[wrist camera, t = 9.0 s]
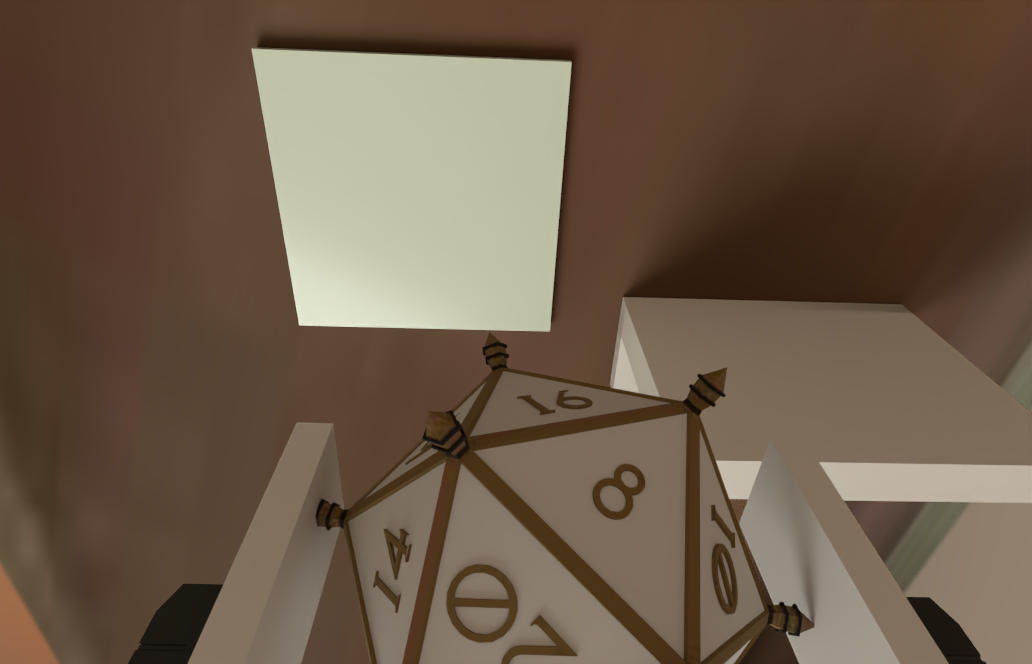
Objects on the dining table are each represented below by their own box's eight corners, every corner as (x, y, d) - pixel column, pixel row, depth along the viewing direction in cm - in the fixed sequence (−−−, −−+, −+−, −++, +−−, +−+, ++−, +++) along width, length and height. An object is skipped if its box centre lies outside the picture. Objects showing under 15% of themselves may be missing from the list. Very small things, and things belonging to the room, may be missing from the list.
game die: (469, 363, 18) (118, 577, 11) (682, 192, 12) (239, 405, 5) (640, 611, 18) (391, 1012, 10) (947, 554, 12) (873, 1370, 5)
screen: (865, 389, 37) (1021, 568, 26) (609, 383, 36) (657, 565, 25) (901, 304, 34) (1096, 466, 23) (623, 296, 33) (683, 460, 22)
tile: (549, 326, 34) (549, 331, 34) (302, 319, 34) (299, 325, 33) (570, 60, 27) (571, 62, 26) (256, 47, 26) (251, 48, 26)
